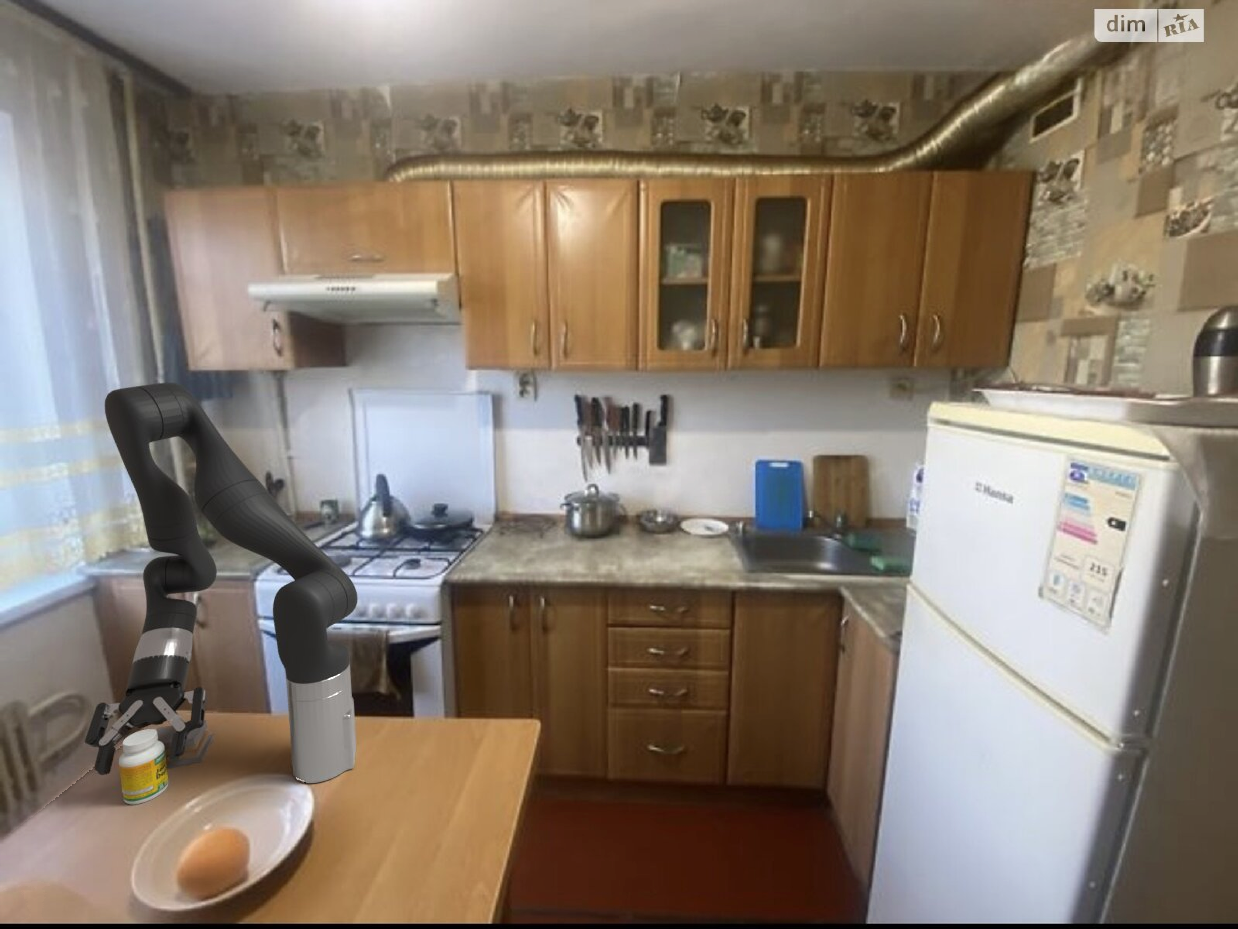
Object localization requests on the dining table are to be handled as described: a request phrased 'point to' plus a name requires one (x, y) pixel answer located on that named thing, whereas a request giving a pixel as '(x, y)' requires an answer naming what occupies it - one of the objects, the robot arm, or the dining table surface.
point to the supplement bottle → (143, 767)
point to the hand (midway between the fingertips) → (139, 766)
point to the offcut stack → (194, 747)
